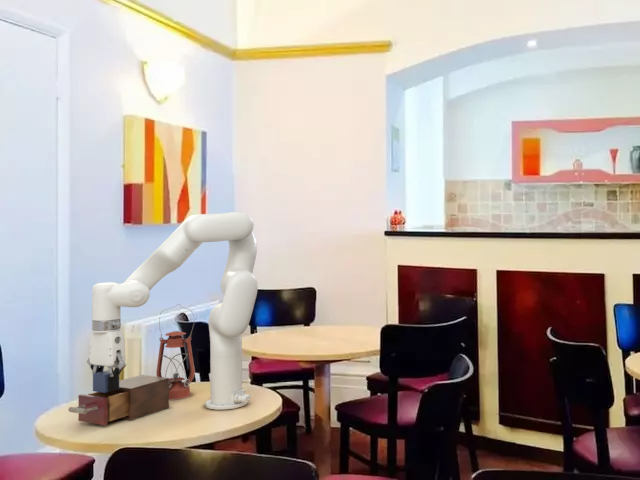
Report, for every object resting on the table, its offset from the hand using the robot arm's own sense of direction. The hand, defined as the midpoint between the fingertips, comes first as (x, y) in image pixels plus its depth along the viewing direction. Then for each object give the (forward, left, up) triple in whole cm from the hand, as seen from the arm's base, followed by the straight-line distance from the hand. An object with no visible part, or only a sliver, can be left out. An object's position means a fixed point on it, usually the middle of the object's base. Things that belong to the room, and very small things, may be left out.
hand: (106, 388), depth 197 cm
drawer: (0, +1, -9) cm, 9 cm away
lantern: (+3, -30, -10) cm, 31 cm away
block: (0, 0, 0) cm, 0 cm away
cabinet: (0, -11, -9) cm, 14 cm away
